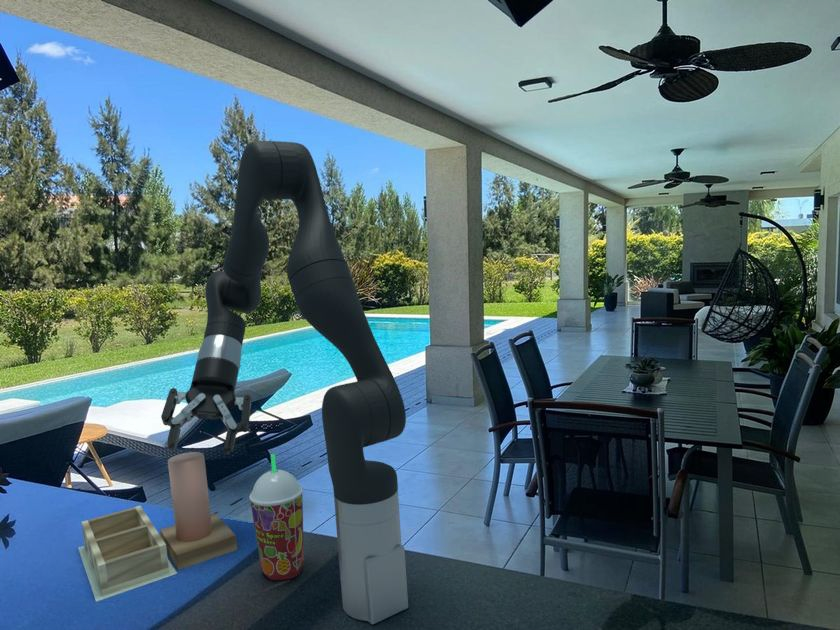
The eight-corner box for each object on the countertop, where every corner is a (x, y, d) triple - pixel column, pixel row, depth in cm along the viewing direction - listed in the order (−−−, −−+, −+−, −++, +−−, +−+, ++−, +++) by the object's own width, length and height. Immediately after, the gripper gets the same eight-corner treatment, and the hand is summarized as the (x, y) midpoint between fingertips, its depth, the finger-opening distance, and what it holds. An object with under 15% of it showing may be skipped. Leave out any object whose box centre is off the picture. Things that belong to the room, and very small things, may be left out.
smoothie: (246, 580, 99) (234, 460, 96) (280, 555, 106) (270, 443, 104) (287, 591, 95) (275, 467, 92) (319, 564, 102) (309, 449, 100)
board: (237, 551, 108) (236, 535, 108) (178, 572, 103) (176, 555, 102) (216, 527, 118) (215, 512, 118) (161, 545, 112) (160, 529, 112)
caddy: (169, 573, 102) (165, 544, 101) (102, 596, 96) (98, 566, 95) (143, 530, 118) (140, 505, 117) (84, 547, 112) (81, 521, 112)
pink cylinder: (216, 534, 109) (208, 458, 107) (181, 545, 106) (172, 467, 104) (206, 522, 114) (198, 449, 112) (172, 532, 110) (164, 457, 109)
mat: (177, 575, 102) (177, 573, 101) (96, 603, 95) (96, 601, 95) (148, 528, 119) (147, 526, 119) (78, 549, 113) (78, 547, 113)
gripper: (174, 351, 108) (151, 438, 98) (257, 359, 110) (242, 446, 101) (179, 371, 114) (158, 455, 105) (258, 379, 116) (244, 462, 107)
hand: (199, 450), depth 103 cm, fingers open, 8 cm apart
